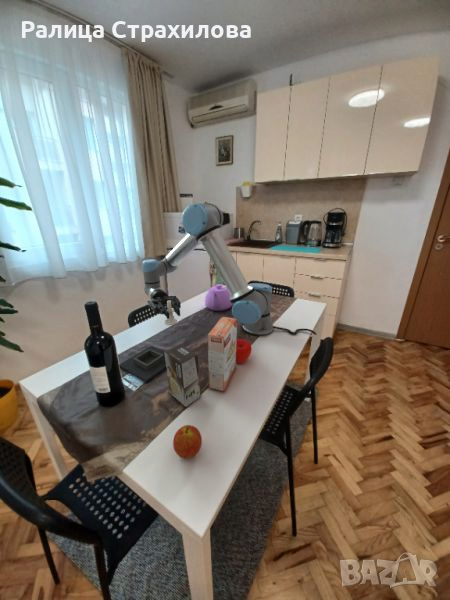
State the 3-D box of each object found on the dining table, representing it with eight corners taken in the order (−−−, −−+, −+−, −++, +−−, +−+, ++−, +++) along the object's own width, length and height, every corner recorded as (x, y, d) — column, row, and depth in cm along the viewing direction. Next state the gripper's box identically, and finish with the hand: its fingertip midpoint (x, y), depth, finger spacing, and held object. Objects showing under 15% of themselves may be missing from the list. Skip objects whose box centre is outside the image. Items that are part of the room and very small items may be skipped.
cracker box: (225, 392, 79) (224, 337, 71) (208, 388, 80) (206, 334, 73) (236, 367, 91) (237, 318, 83) (222, 364, 93) (221, 315, 85)
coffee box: (201, 396, 77) (199, 354, 71) (185, 407, 73) (181, 364, 67) (183, 383, 83) (180, 343, 77) (168, 392, 79) (163, 351, 73)
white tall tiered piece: (167, 326, 99) (165, 303, 95) (162, 321, 103) (160, 299, 99) (179, 322, 102) (177, 300, 98) (174, 318, 105) (171, 296, 102)
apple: (247, 369, 90) (248, 351, 87) (225, 364, 93) (225, 347, 90) (253, 356, 98) (254, 339, 95) (233, 352, 100) (233, 335, 97)
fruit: (178, 470, 56) (175, 446, 53) (171, 445, 61) (168, 422, 58) (206, 457, 58) (205, 434, 55) (197, 434, 64) (195, 412, 61)
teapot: (208, 298, 158) (207, 278, 153) (235, 299, 156) (235, 279, 151) (200, 314, 135) (198, 291, 130) (231, 316, 133) (231, 293, 128)
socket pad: (178, 359, 96) (178, 353, 95) (146, 382, 83) (145, 375, 82) (151, 347, 104) (150, 341, 103) (119, 367, 91) (117, 360, 90)
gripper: (175, 300, 120) (193, 317, 101) (141, 307, 112) (153, 327, 93) (174, 286, 117) (192, 301, 98) (139, 292, 109) (151, 309, 90)
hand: (173, 314), depth 96 cm, fingers closed on white tall tiered piece, 4 cm apart
